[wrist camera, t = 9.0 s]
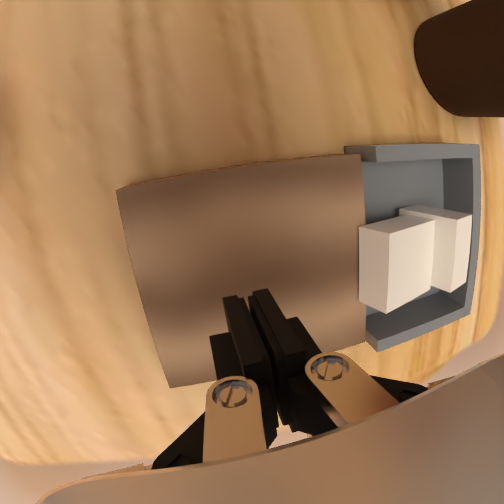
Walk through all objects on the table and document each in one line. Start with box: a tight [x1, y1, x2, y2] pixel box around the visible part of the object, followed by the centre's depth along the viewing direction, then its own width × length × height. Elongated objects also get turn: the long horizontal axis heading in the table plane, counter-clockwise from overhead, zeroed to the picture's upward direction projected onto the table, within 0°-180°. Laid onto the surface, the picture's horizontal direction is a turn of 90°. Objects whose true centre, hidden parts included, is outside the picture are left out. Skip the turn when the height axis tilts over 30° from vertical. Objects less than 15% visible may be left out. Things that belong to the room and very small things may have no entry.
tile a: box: [359, 215, 435, 314], centre depth 20 cm, size 5×5×2 cm
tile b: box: [399, 205, 472, 293], centre depth 21 cm, size 5×5×2 cm
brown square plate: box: [116, 154, 366, 388], centre depth 20 cm, size 13×14×3 cm
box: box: [344, 143, 481, 352], centre depth 22 cm, size 14×10×4 cm
